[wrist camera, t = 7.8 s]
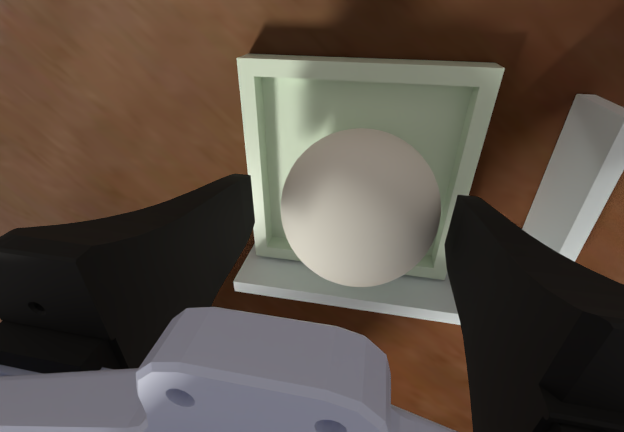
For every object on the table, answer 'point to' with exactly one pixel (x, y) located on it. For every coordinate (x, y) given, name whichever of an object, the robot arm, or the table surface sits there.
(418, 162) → the ball
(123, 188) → the table surface
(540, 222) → the acrylic walls
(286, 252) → the resting spot
